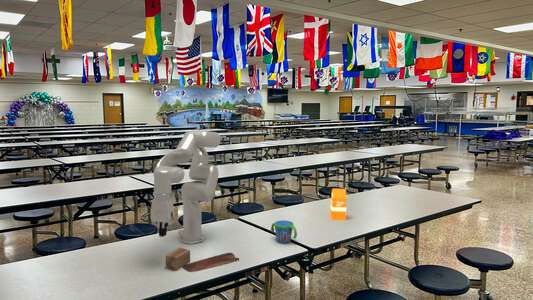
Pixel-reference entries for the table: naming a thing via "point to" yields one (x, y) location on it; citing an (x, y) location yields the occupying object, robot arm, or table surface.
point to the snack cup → (283, 230)
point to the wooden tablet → (210, 262)
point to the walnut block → (177, 259)
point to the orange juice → (338, 204)
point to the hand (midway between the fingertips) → (162, 235)
